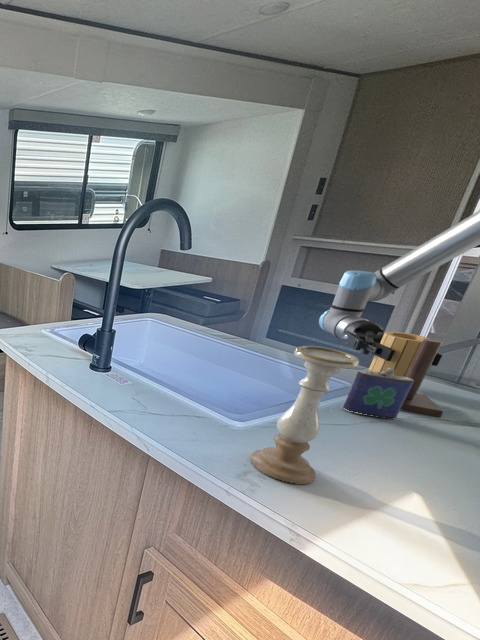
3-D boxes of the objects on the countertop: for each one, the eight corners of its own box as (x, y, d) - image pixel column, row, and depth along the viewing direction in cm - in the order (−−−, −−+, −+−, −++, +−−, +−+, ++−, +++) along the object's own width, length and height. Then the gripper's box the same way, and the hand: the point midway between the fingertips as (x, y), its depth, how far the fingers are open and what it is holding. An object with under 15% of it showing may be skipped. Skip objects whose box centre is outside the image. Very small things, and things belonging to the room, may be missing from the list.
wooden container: (407, 372, 109) (424, 335, 105) (419, 383, 102) (438, 343, 98) (365, 366, 113) (380, 329, 109) (374, 376, 106) (391, 337, 102)
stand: (422, 400, 99) (454, 339, 93) (440, 417, 91) (476, 351, 85) (368, 390, 104) (395, 331, 98) (380, 405, 96) (410, 342, 90)
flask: (392, 415, 91) (415, 369, 87) (399, 421, 89) (423, 374, 84) (340, 407, 94) (359, 361, 90) (345, 412, 92) (365, 366, 87)
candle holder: (318, 470, 71) (369, 355, 62) (307, 492, 65) (362, 369, 57) (258, 448, 76) (297, 340, 68) (243, 467, 71) (284, 351, 62)
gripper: (397, 349, 120) (461, 378, 100) (311, 341, 125) (355, 367, 105) (409, 323, 117) (477, 348, 97) (320, 316, 122) (367, 338, 102)
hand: (414, 358), depth 101 cm, fingers closed on wooden container, 9 cm apart
